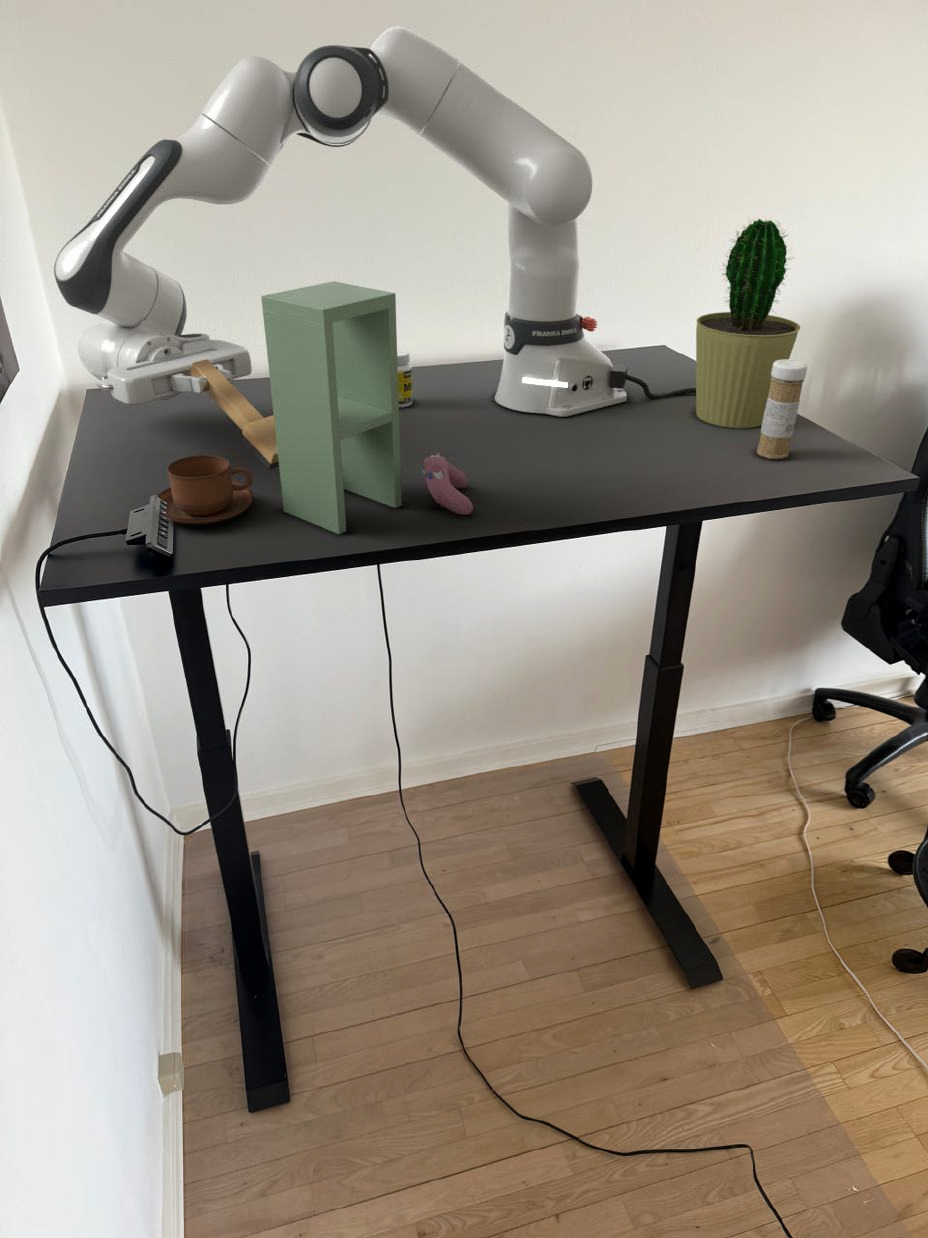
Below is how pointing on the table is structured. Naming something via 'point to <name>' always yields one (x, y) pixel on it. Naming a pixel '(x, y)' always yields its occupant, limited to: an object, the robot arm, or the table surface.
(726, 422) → the potted cactus
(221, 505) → the cup and saucer
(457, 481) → the video game controller
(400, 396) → the supplement bottle
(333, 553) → the table surface
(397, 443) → the sage stand
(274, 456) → the desk brush
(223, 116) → the robot arm
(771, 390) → the sprinkles bottle
